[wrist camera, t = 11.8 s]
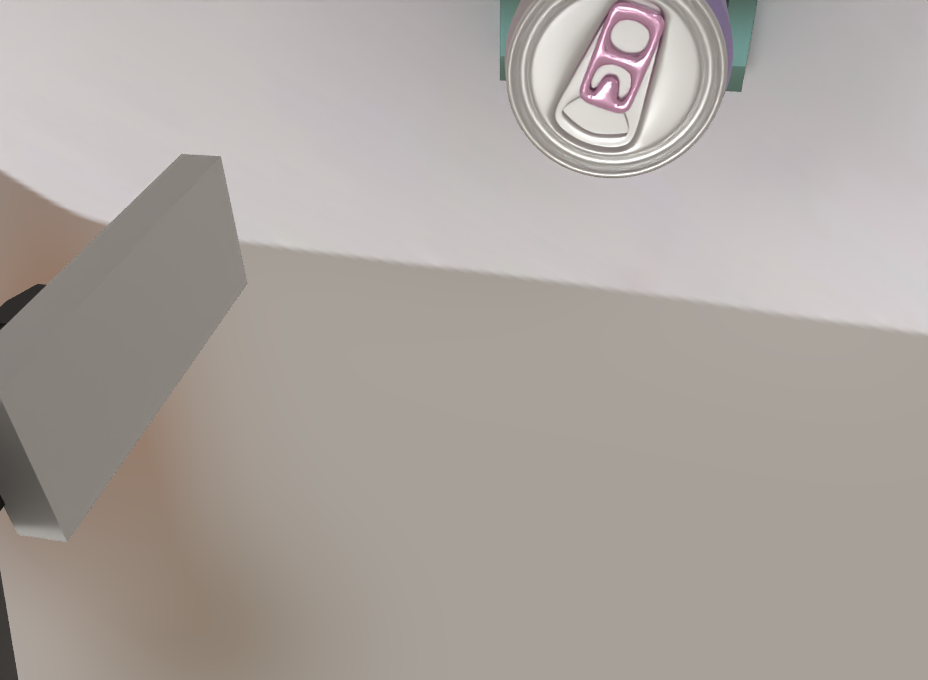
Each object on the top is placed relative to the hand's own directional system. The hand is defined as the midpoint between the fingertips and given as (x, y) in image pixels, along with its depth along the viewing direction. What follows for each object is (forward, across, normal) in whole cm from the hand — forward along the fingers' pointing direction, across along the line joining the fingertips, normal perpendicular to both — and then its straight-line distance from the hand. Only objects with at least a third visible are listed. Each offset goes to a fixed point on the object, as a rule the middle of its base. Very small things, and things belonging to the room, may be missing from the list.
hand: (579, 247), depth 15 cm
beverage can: (+24, 0, 0) cm, 24 cm away
